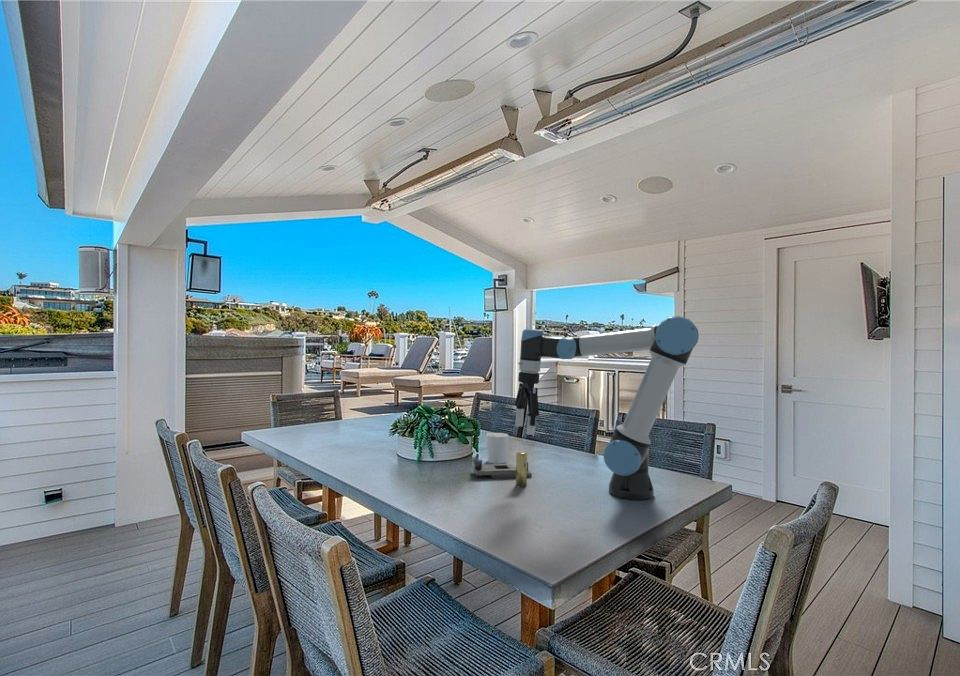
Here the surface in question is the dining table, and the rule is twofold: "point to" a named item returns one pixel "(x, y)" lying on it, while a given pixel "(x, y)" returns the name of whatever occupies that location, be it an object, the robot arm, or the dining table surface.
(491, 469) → the toggle switch plate
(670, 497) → the dining table surface
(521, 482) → the toggle switch lever
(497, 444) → the candle holder
